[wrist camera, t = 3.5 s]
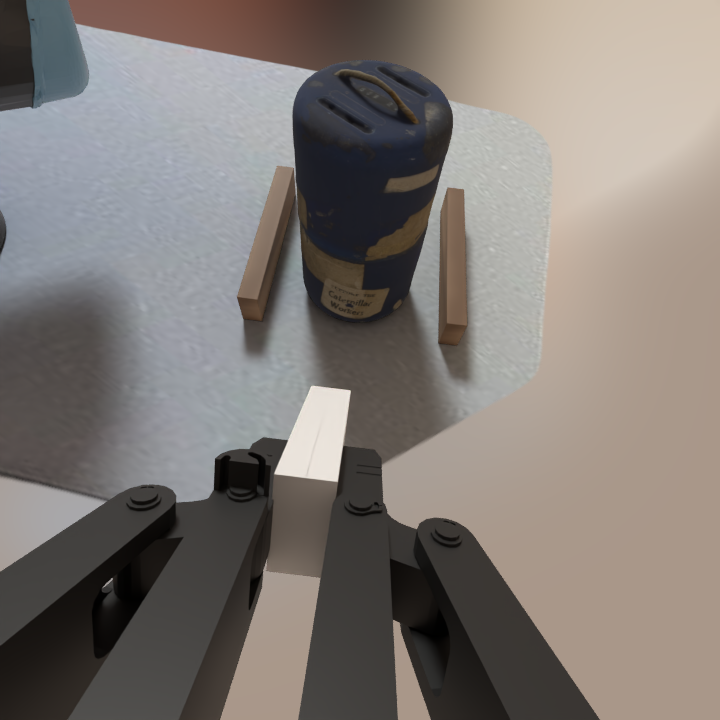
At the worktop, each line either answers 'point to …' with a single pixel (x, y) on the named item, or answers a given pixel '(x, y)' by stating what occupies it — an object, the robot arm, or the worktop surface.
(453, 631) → the robot arm
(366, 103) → the canister
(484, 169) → the worktop surface
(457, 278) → the walnut chute
